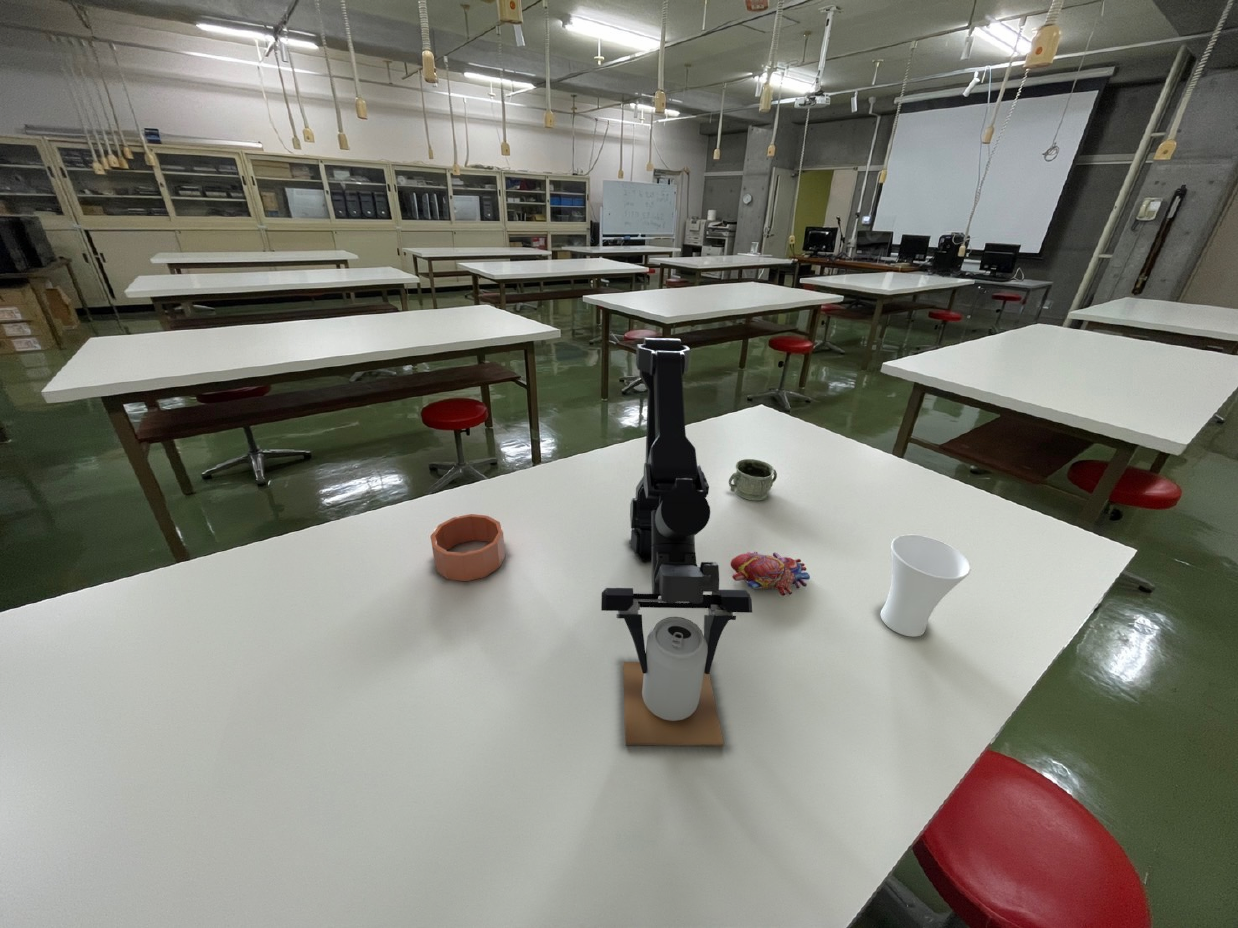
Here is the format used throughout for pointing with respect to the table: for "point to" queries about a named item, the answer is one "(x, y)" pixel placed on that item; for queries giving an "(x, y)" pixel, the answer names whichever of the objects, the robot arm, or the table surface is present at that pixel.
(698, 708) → the wooden coaster
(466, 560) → the pot
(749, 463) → the vessel
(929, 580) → the cup
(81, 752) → the table surface
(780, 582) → the anatomical model
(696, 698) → the can
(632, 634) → the robot arm
